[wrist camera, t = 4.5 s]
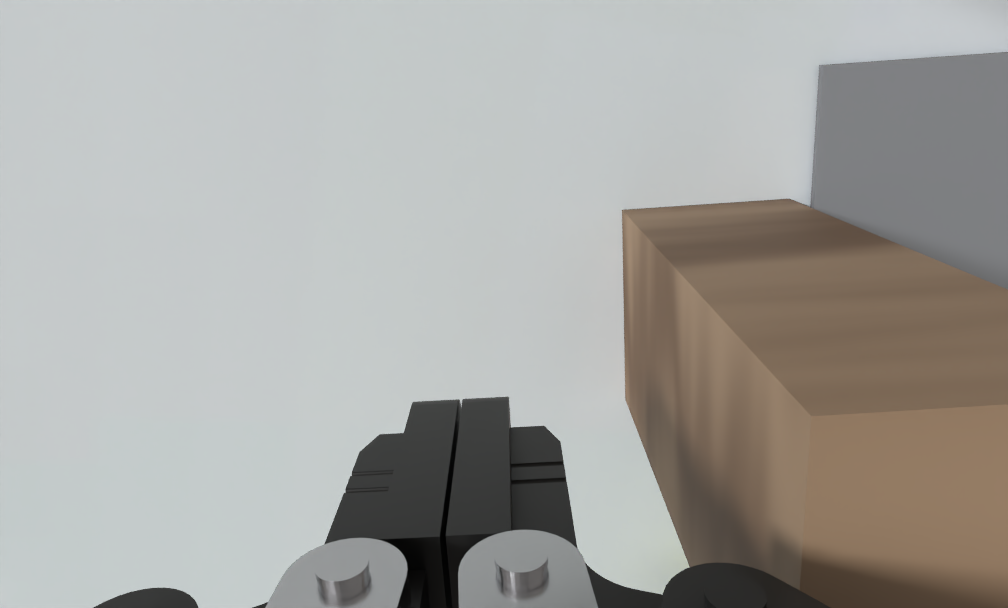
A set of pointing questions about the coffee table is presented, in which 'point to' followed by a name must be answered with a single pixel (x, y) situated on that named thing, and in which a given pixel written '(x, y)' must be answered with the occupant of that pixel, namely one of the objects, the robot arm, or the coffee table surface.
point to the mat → (919, 155)
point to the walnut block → (820, 403)
